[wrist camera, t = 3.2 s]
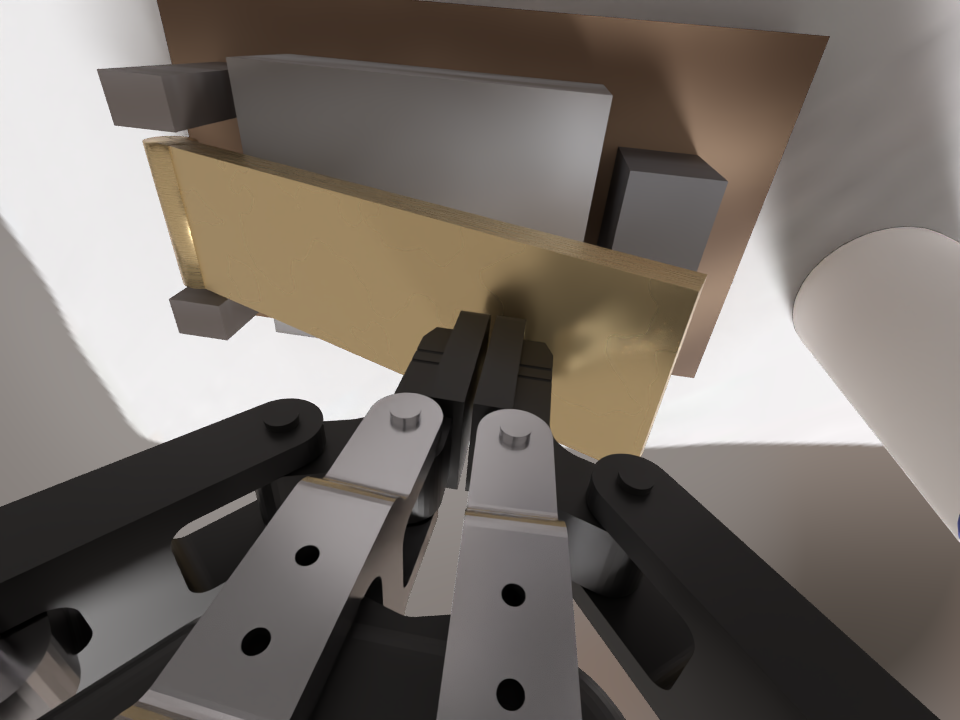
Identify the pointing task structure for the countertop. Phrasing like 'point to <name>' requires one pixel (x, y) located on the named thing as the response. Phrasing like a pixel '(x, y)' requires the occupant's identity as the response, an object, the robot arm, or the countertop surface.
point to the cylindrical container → (895, 348)
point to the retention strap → (428, 281)
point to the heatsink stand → (491, 120)
